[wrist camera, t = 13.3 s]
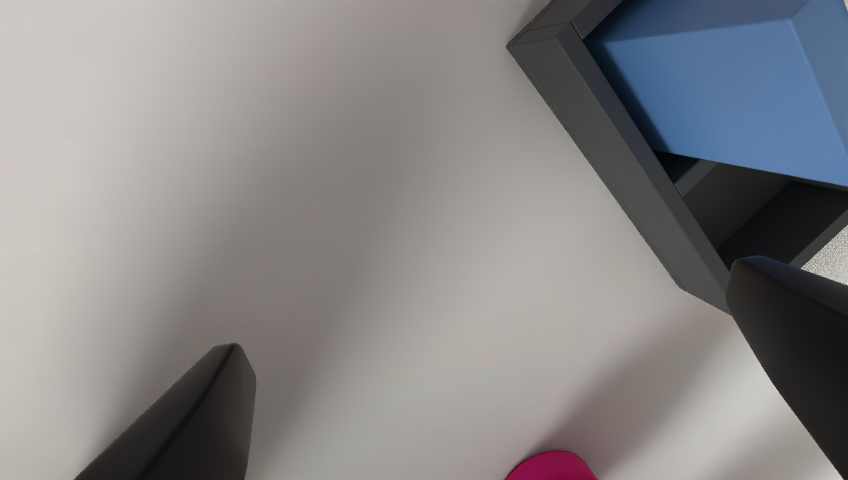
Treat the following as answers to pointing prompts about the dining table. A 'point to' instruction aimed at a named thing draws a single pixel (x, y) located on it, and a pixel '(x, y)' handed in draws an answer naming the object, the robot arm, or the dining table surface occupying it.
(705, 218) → the caddy
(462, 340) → the dining table surface
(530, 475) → the pepper mill
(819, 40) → the carton
